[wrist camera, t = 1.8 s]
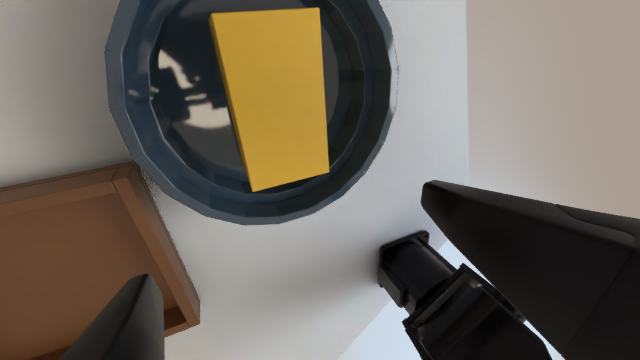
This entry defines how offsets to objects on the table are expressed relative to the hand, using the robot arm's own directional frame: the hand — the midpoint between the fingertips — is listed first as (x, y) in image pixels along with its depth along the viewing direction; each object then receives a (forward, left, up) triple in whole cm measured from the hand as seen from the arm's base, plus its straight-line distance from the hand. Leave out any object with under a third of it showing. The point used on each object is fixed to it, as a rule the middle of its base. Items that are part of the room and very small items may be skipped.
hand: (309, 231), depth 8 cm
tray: (+14, +8, -12) cm, 20 cm away
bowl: (-2, -2, -12) cm, 12 cm away
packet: (-2, -2, -12) cm, 12 cm away
